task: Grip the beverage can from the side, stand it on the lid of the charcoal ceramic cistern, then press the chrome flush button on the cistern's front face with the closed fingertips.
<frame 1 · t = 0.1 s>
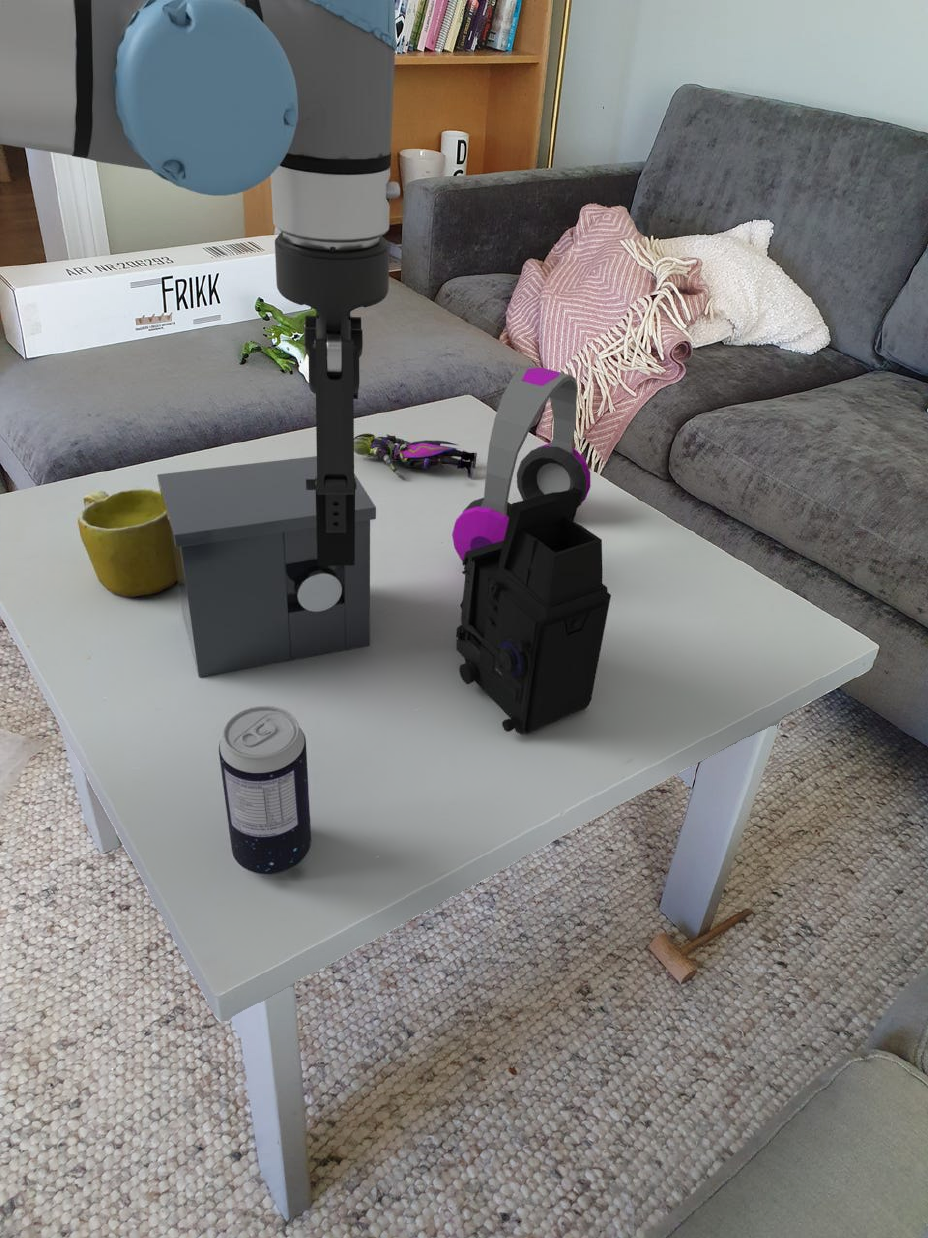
hand: (335, 516, 72), 17 cm above the table, tool pointing down, fingers open, 13 cm apart
beverage can: (272, 852, 67), on the table
mug: (133, 571, 95), on the table
cistern: (275, 630, 88), on the table
headphones: (521, 542, 105), on the table
camera: (513, 685, 84), on the table
character figure: (413, 466, 119), on the table
flush button: (318, 588, 81), point 8 cm above the table, slide at 0.1 cm
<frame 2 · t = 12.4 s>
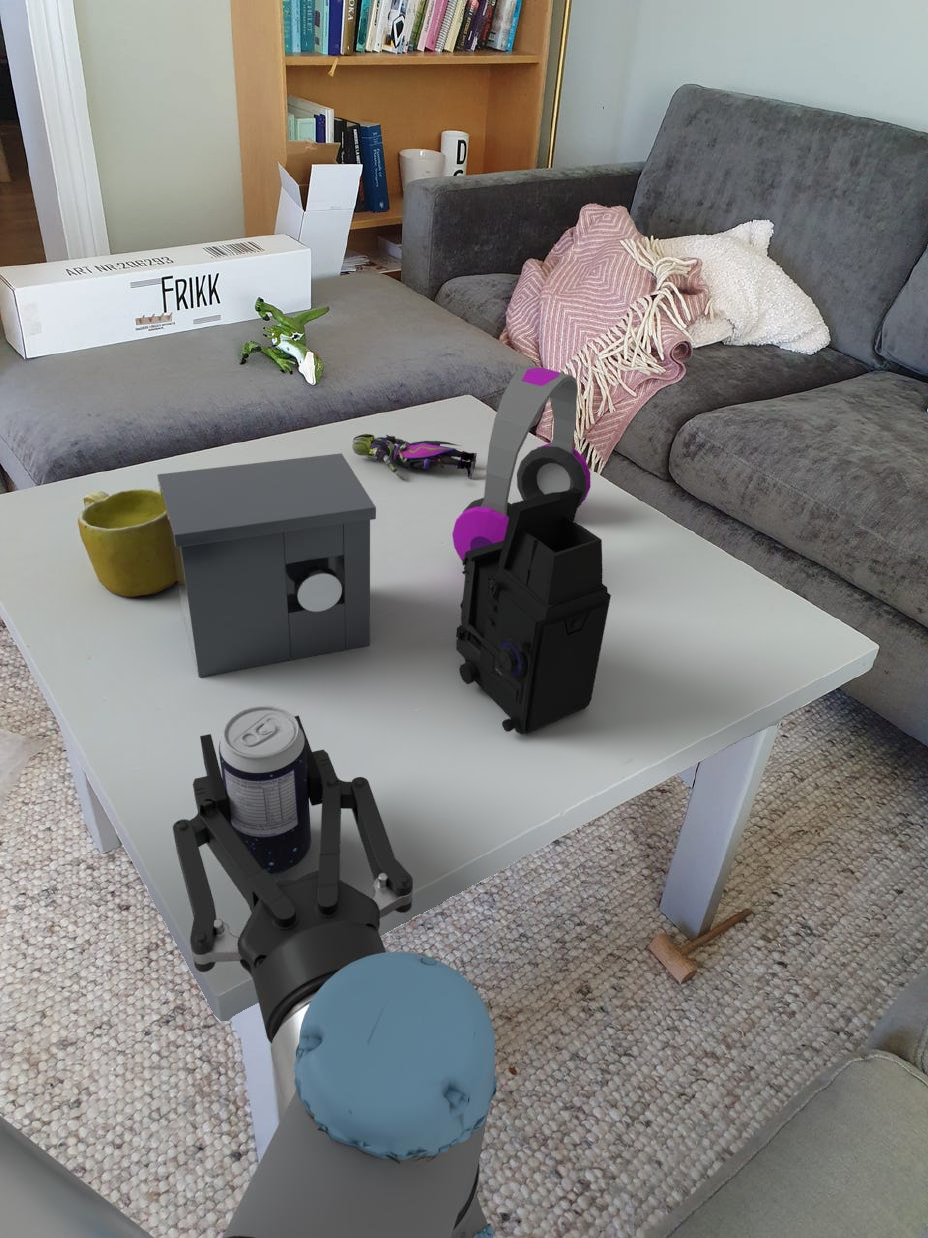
hand: (251, 739, 67), 7 cm above the table, tool horizontal, fingers closed on beverage can, 6 cm apart
beverage can: (272, 852, 67), on the table, touching gripper
everything else where it was.
when the fingers open (22 cm above the table, at t = 21.7 s): beverage can stays where it is, resting on cistern.
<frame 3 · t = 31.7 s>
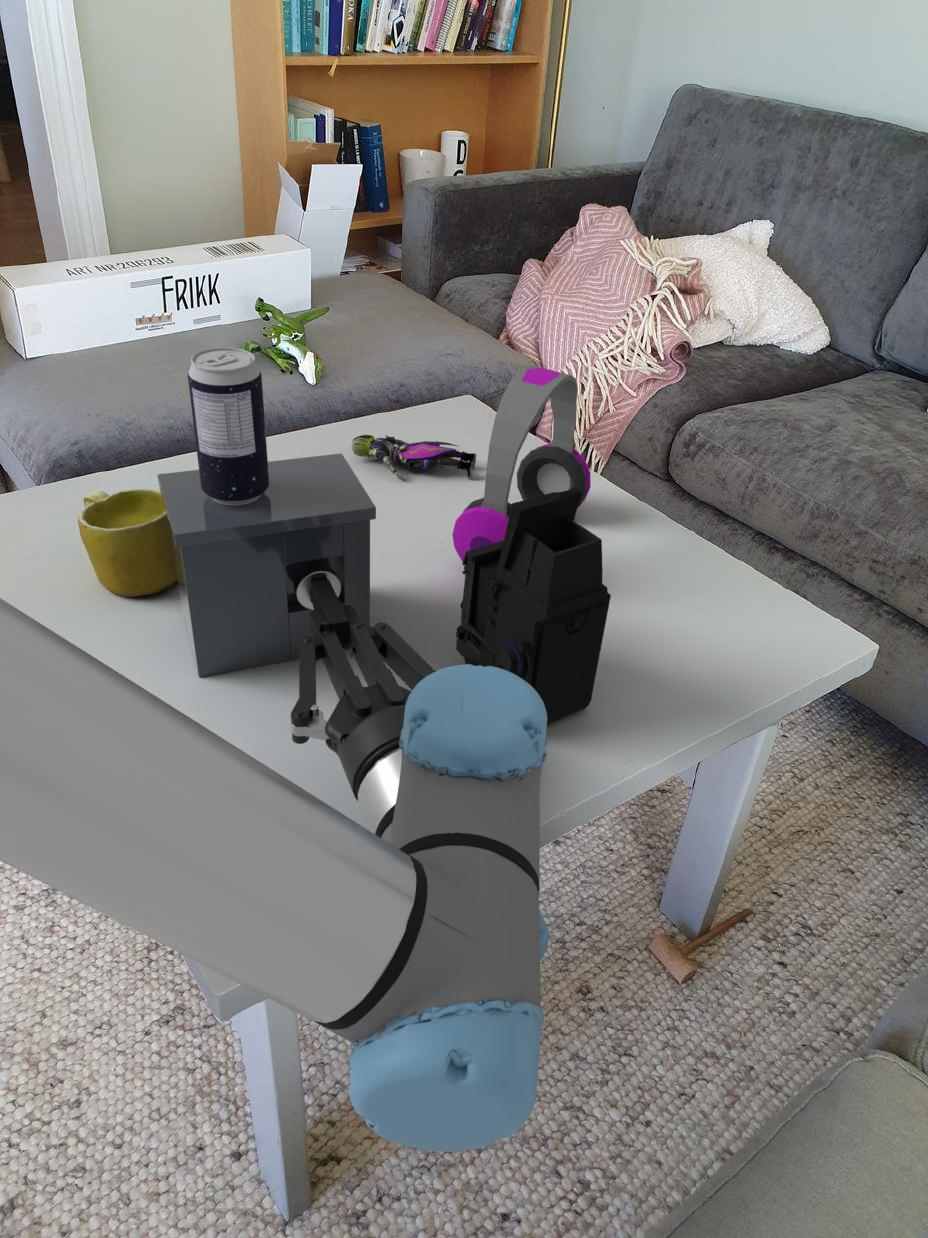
hand: (320, 592, 80), 8 cm above the table, tool horizontal, fingers closed
beverage can: (236, 495, 79), point 15 cm above the table, touching cistern
flush button: (317, 586, 81), point 8 cm above the table, slide at -0.2 cm, touching gripper
everything else where it was.
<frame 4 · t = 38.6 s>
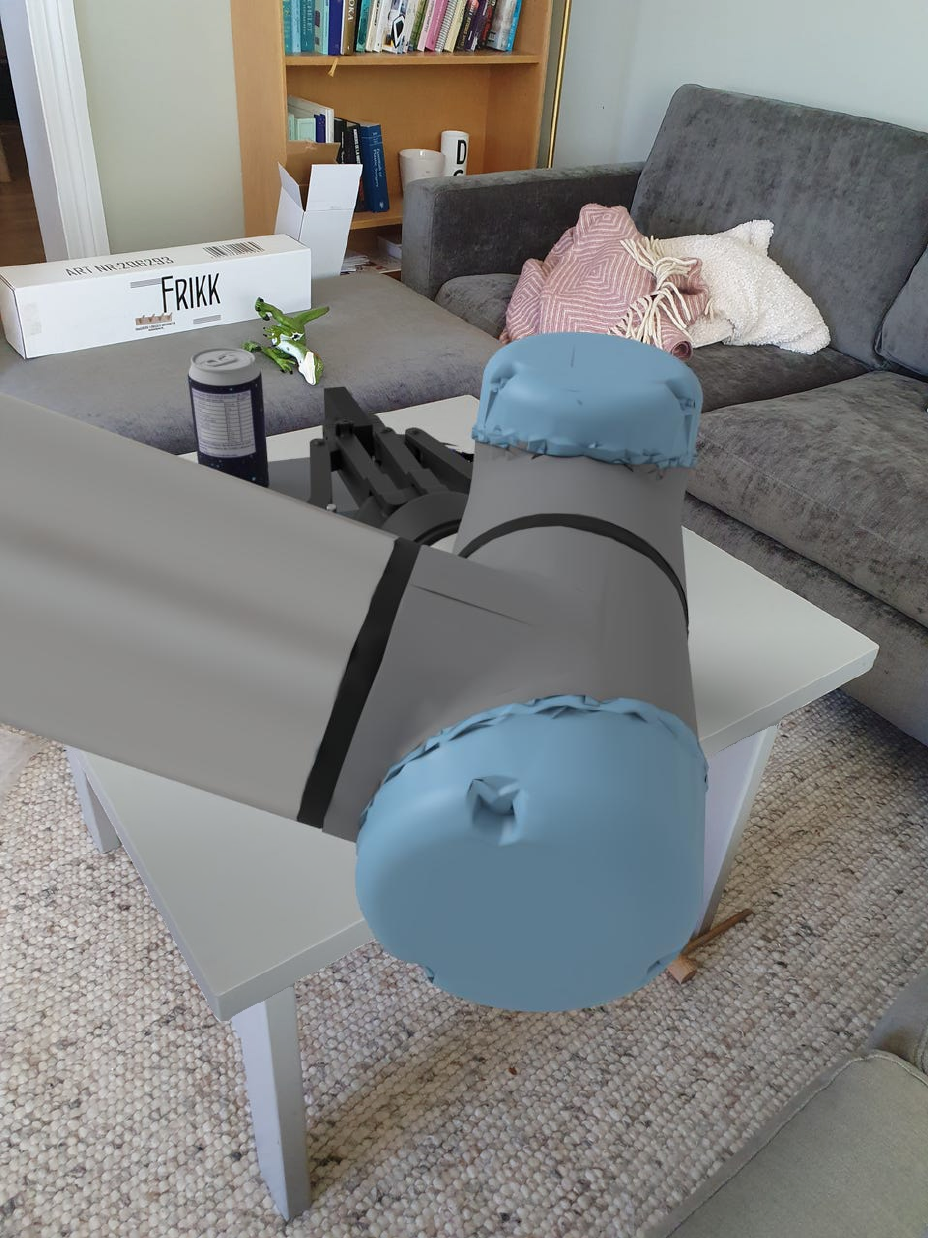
hand: (334, 405, 64), 28 cm above the table, tool horizontal, fingers closed
flush button: (318, 588, 81), point 8 cm above the table, slide at 0.1 cm
everything else where it was.
at the end: beverage can inside the target area on the cistern (0.9 cm from its centre), point 15.0 cm above the cistern's base; beverage can tilted 0°; flush button pushed in 1.4 cm at the most during the clip, back to where it started at the end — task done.
